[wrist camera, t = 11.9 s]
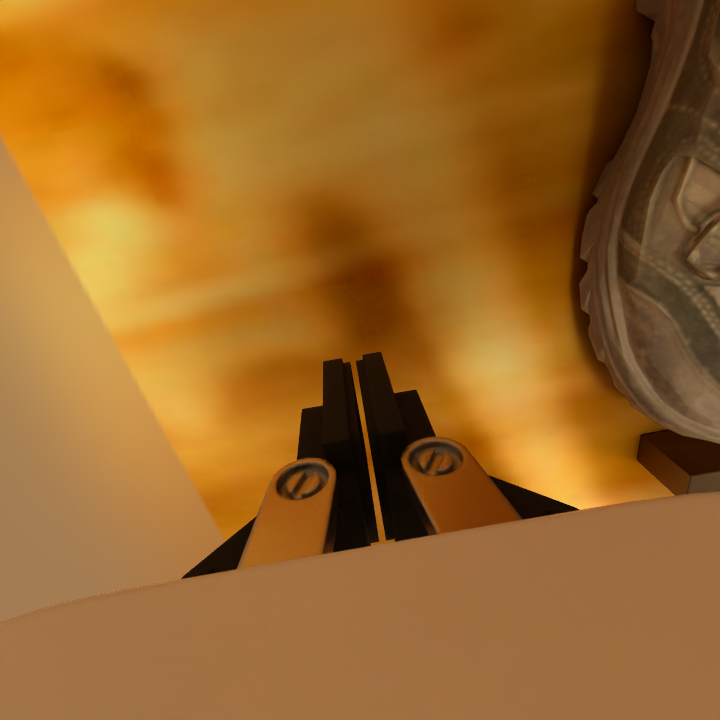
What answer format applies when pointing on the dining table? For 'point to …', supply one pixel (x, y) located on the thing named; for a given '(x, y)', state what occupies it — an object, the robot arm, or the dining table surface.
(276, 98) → the dining table surface
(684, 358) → the hiking shoe
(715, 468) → the bracket
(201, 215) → the dining table surface
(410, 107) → the dining table surface
